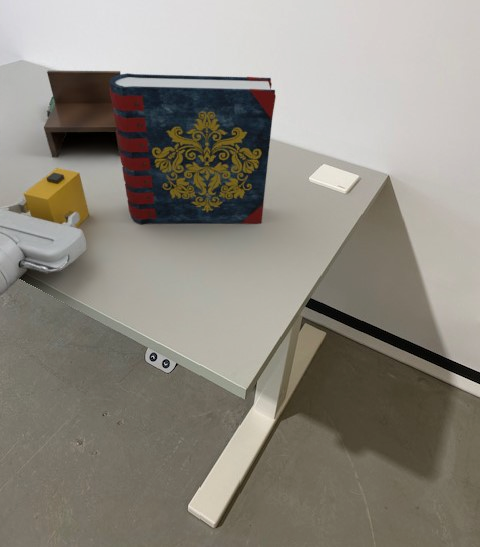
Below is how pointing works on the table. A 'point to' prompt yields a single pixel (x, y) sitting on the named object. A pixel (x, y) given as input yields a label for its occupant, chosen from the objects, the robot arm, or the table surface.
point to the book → (193, 146)
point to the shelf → (79, 105)
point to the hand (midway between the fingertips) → (51, 208)
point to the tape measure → (57, 197)
